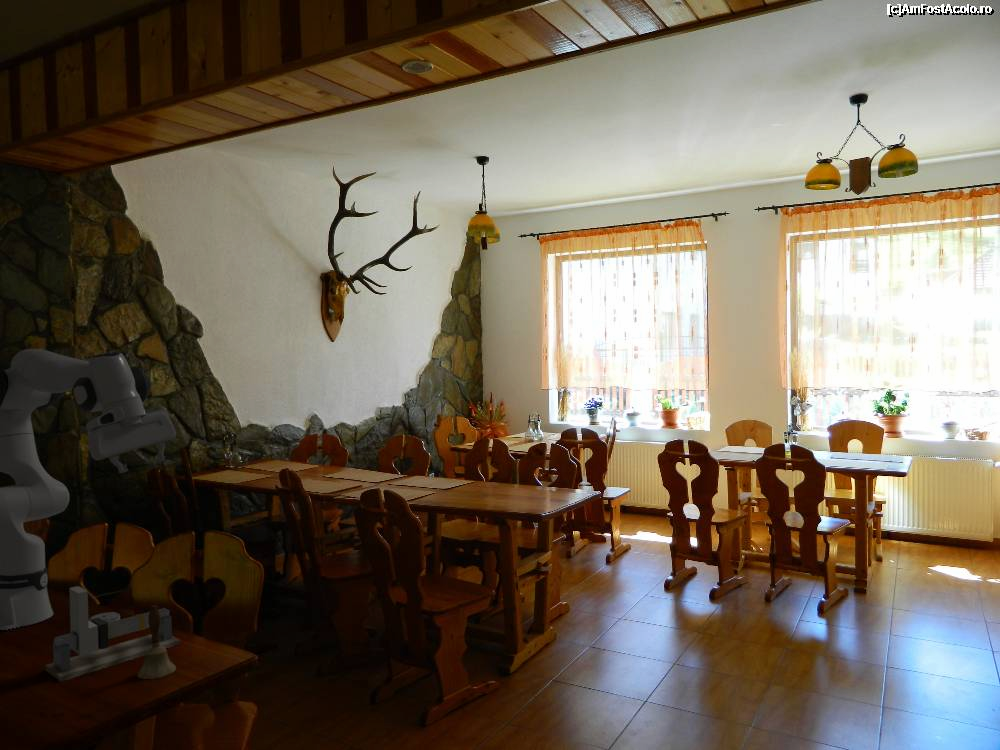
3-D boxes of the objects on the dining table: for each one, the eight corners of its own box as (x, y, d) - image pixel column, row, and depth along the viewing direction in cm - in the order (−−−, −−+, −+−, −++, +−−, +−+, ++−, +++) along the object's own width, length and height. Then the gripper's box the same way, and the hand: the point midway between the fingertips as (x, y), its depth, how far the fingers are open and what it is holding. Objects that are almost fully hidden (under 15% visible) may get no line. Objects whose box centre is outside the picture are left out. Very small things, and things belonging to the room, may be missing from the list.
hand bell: (146, 683, 167) (144, 614, 166) (131, 673, 172) (129, 606, 171) (182, 670, 173) (180, 604, 172) (166, 661, 178) (164, 597, 178)
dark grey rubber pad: (101, 649, 176) (100, 625, 176) (92, 643, 180) (91, 619, 180) (108, 647, 177) (107, 623, 177) (99, 641, 181) (98, 617, 181)
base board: (60, 681, 168) (60, 676, 168) (45, 670, 174) (45, 665, 174) (180, 644, 189) (180, 640, 189) (163, 635, 195) (163, 630, 195)
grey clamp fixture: (61, 672, 170) (60, 641, 170) (53, 666, 173) (52, 635, 173) (171, 638, 190) (171, 610, 189) (163, 634, 193) (162, 606, 193)
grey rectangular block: (80, 655, 173) (78, 593, 172) (71, 649, 177) (69, 588, 176) (98, 650, 176) (96, 589, 175) (89, 644, 180) (87, 584, 179)
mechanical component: (110, 639, 193) (133, 625, 203) (110, 623, 193) (132, 610, 203) (75, 638, 194) (99, 625, 204) (75, 622, 194) (99, 609, 204)
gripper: (159, 407, 191) (176, 456, 191) (78, 426, 175) (96, 481, 175) (170, 401, 187) (187, 452, 187) (88, 421, 171) (107, 476, 171)
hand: (143, 466), depth 181 cm, fingers open, 8 cm apart
